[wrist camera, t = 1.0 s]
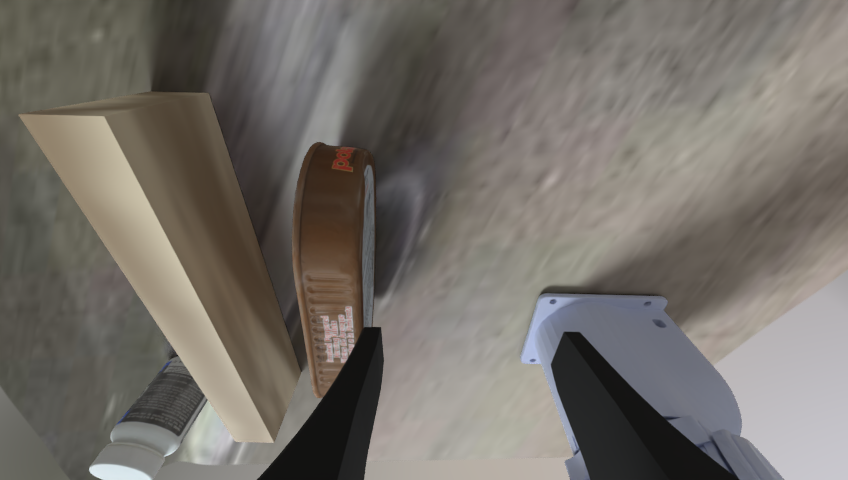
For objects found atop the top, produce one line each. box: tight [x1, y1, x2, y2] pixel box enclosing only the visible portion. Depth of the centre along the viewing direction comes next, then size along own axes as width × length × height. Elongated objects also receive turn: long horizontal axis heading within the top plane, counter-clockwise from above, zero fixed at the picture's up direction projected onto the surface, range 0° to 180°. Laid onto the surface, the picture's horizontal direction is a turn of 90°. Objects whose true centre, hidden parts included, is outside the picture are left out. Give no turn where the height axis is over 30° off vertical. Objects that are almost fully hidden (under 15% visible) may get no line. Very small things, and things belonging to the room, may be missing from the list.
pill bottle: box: [89, 356, 208, 480], centre depth 25 cm, size 5×5×8 cm
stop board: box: [18, 92, 301, 443], centre depth 20 cm, size 3×24×6 cm, turn 179°
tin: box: [292, 142, 376, 398], centre depth 17 cm, size 15×3×8 cm, turn 174°
